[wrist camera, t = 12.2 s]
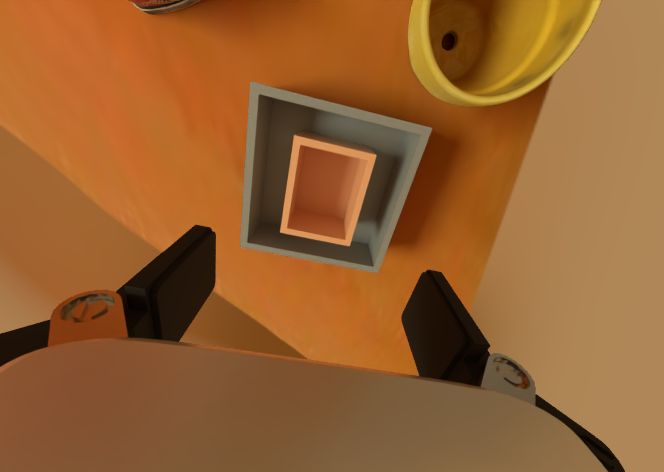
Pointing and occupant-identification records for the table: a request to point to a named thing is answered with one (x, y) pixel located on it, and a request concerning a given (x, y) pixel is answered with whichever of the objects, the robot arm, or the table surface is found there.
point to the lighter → (162, 5)
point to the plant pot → (493, 45)
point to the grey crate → (274, 161)
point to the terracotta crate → (325, 187)
